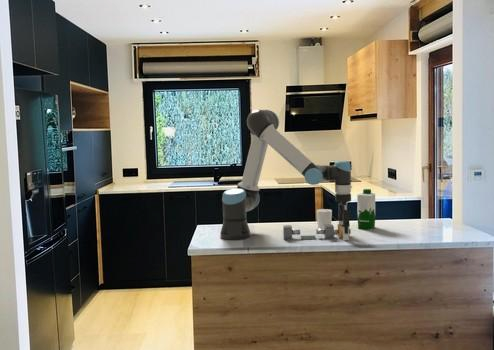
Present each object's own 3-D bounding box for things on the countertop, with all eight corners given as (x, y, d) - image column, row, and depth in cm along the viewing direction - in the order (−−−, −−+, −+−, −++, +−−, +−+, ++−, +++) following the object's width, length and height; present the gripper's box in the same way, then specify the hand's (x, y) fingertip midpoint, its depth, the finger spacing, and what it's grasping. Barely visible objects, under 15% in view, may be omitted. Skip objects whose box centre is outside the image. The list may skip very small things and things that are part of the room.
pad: (301, 239, 232) (301, 239, 232) (300, 236, 239) (300, 235, 239) (316, 239, 231) (316, 238, 231) (314, 236, 238) (314, 235, 238)
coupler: (337, 238, 232) (337, 226, 231) (336, 236, 237) (335, 224, 236) (351, 238, 232) (351, 226, 231) (349, 236, 236) (349, 224, 236)
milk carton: (376, 226, 255) (376, 189, 253) (372, 230, 247) (372, 191, 245) (360, 225, 259) (360, 188, 257) (355, 229, 251) (355, 191, 249)
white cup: (331, 230, 249) (331, 211, 248) (316, 230, 250) (316, 211, 249) (332, 227, 256) (332, 209, 255) (317, 227, 258) (317, 209, 257)
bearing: (283, 239, 233) (283, 227, 232) (283, 237, 238) (283, 225, 237) (300, 239, 233) (300, 227, 232) (299, 236, 238) (299, 224, 237)
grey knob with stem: (317, 238, 232) (316, 226, 232) (316, 236, 237) (315, 224, 237) (333, 238, 232) (333, 226, 231) (332, 236, 237) (332, 224, 236)
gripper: (355, 196, 220) (356, 242, 222) (346, 189, 244) (347, 231, 246) (339, 197, 220) (339, 243, 222) (331, 190, 244) (332, 231, 247)
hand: (343, 236), depth 234 cm, fingers open, 13 cm apart
